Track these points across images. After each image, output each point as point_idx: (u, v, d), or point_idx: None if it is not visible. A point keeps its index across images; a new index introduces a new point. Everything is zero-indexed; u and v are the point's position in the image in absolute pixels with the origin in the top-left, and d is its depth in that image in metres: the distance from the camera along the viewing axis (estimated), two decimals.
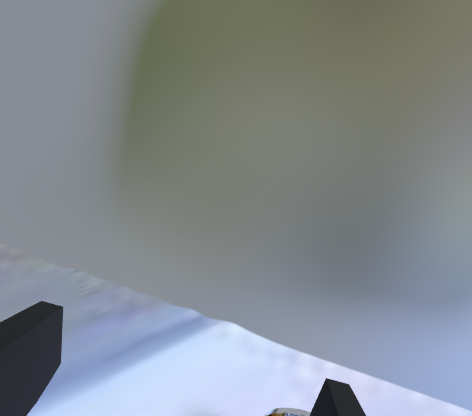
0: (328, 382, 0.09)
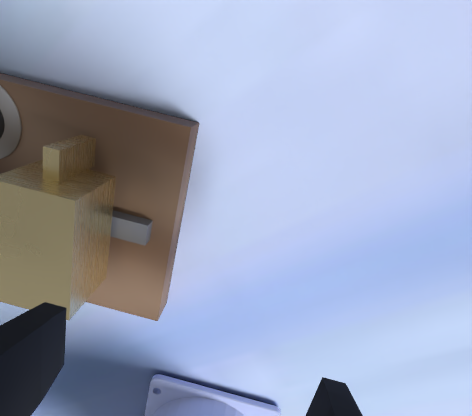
0: (324, 381, 0.09)
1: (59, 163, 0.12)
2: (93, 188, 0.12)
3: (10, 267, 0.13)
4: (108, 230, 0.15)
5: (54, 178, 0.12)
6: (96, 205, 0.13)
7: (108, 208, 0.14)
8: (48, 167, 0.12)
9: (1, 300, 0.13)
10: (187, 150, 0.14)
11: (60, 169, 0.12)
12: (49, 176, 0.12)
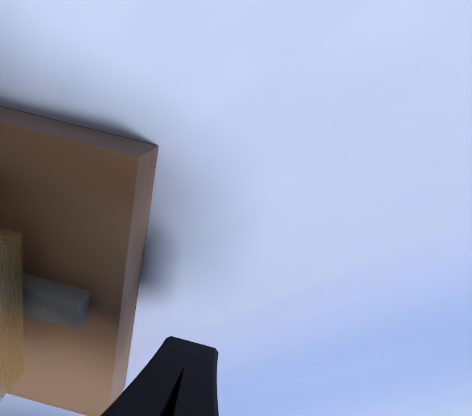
0: (192, 345, 0.09)
1: None
2: None
3: None
4: (16, 312, 0.10)
5: None
6: None
7: (10, 284, 0.09)
8: None
9: None
10: (136, 191, 0.09)
11: None
12: None
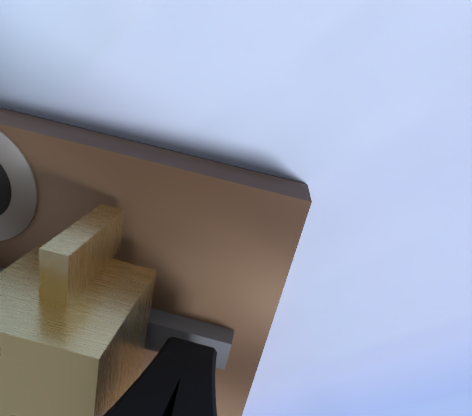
0: (191, 345, 0.09)
1: (68, 276, 0.07)
2: (126, 312, 0.07)
3: None
4: (142, 347, 0.09)
5: (59, 299, 0.07)
6: (129, 332, 0.08)
7: (144, 320, 0.09)
8: (49, 281, 0.07)
9: None
10: (299, 234, 0.09)
11: (70, 282, 0.07)
12: (51, 296, 0.07)
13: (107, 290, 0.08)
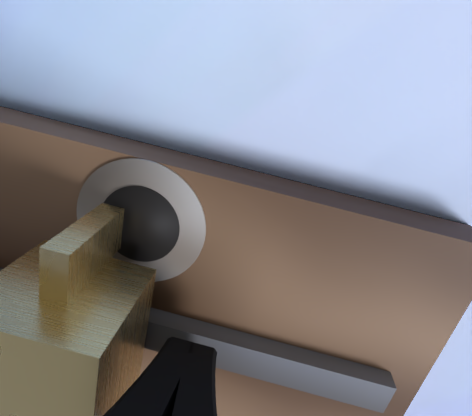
0: (190, 345, 0.09)
1: (68, 275, 0.07)
2: (126, 312, 0.07)
3: None
4: (141, 346, 0.09)
5: (59, 298, 0.07)
6: (129, 332, 0.08)
7: (144, 320, 0.09)
8: (49, 281, 0.07)
9: None
10: None
11: (70, 282, 0.07)
12: (51, 295, 0.07)
13: (107, 289, 0.08)
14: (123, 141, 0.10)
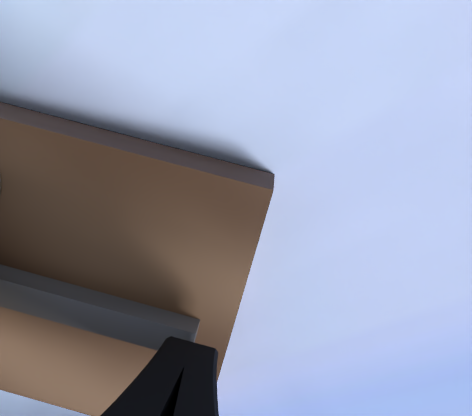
0: (192, 345, 0.09)
1: None
2: None
3: None
4: None
5: None
6: None
7: None
8: None
9: None
10: (263, 223, 0.09)
11: None
12: None
13: None
14: None
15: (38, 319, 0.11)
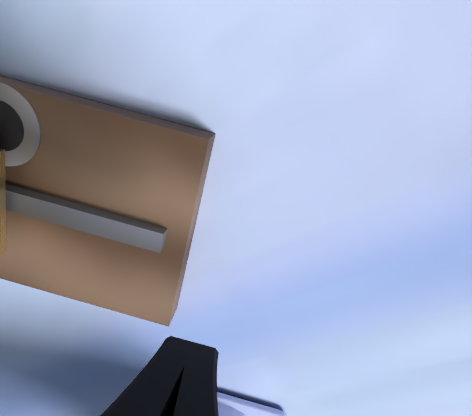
0: (192, 345, 0.09)
1: None
2: None
3: None
4: (1, 203, 0.15)
5: None
6: None
7: None
8: None
9: None
10: (204, 161, 0.15)
11: None
12: None
13: None
14: None
15: (60, 232, 0.17)
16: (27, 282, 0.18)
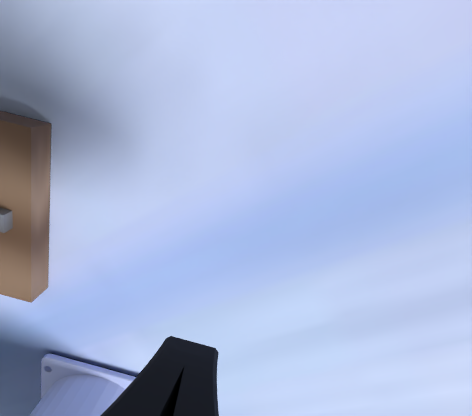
0: (192, 345, 0.09)
1: None
2: None
3: None
4: None
5: None
6: None
7: None
8: None
9: None
10: (32, 148, 0.16)
11: None
12: None
13: None
14: None
15: None
16: None
